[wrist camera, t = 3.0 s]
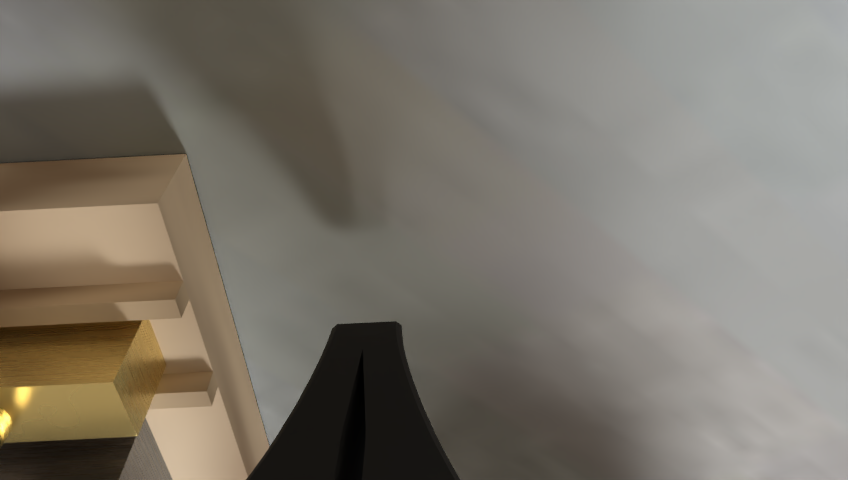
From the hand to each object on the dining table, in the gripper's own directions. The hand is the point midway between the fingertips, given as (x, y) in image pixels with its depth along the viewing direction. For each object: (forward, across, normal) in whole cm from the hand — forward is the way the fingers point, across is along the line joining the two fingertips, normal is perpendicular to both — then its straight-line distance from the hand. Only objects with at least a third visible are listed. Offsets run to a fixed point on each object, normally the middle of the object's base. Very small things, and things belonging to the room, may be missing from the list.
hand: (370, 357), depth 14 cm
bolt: (+1, +7, 0) cm, 7 cm away
